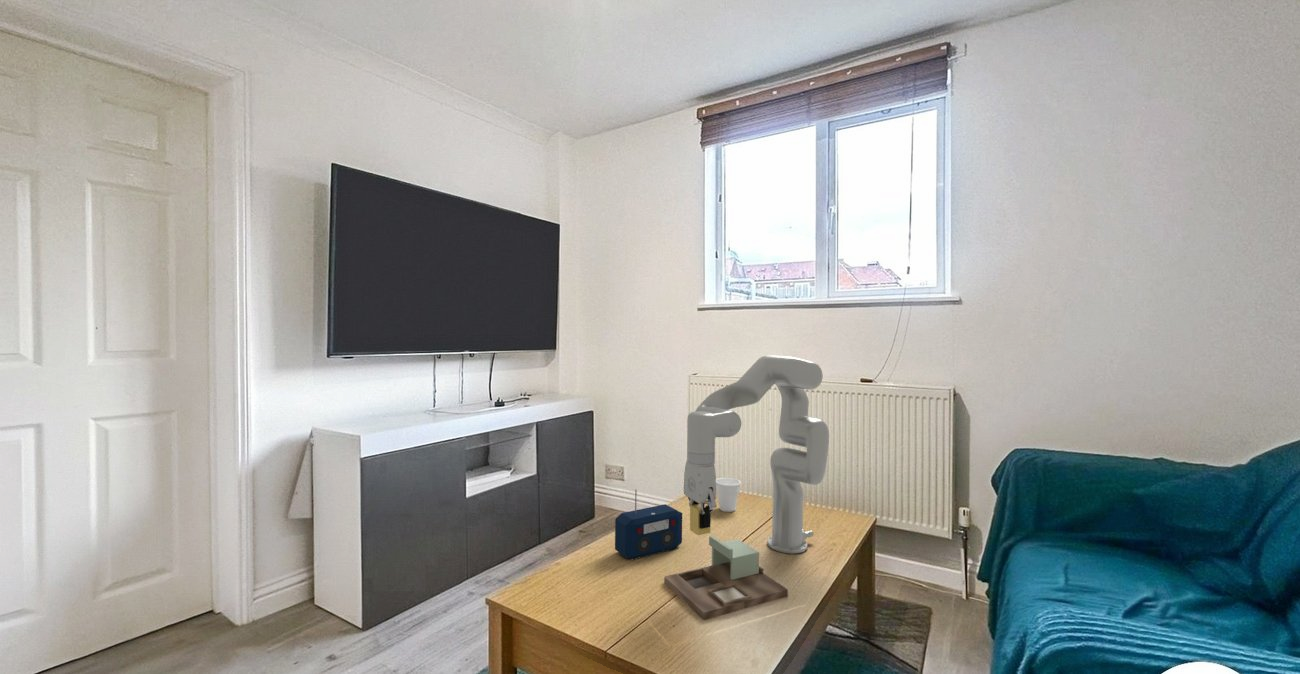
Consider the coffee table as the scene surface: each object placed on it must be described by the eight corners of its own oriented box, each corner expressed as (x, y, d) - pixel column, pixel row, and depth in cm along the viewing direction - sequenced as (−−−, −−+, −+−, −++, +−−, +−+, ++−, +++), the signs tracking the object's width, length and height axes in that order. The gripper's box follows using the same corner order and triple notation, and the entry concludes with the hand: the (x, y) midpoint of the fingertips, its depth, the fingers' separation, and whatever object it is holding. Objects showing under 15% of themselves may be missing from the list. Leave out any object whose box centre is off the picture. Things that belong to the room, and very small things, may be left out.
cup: (714, 513, 198) (714, 484, 198) (715, 504, 208) (715, 477, 207) (740, 515, 196) (740, 486, 196) (740, 506, 206) (740, 478, 206)
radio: (627, 563, 155) (628, 496, 155) (613, 552, 162) (614, 488, 162) (684, 548, 166) (685, 486, 166) (669, 538, 173) (669, 479, 173)
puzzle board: (741, 565, 154) (741, 554, 154) (787, 596, 137) (787, 584, 137) (664, 583, 143) (664, 572, 143) (703, 620, 125) (704, 607, 125)
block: (702, 527, 144) (702, 503, 144) (710, 532, 141) (710, 507, 141) (690, 530, 143) (690, 505, 142) (697, 535, 139) (698, 510, 139)
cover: (737, 558, 154) (737, 530, 154) (758, 573, 145) (759, 543, 145) (708, 565, 149) (709, 536, 149) (729, 580, 140) (729, 549, 140)
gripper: (673, 452, 147) (673, 516, 147) (706, 466, 132) (705, 538, 132) (696, 449, 150) (695, 512, 151) (730, 463, 135) (729, 533, 136)
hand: (700, 523), depth 142 cm, fingers closed on block, 4 cm apart
